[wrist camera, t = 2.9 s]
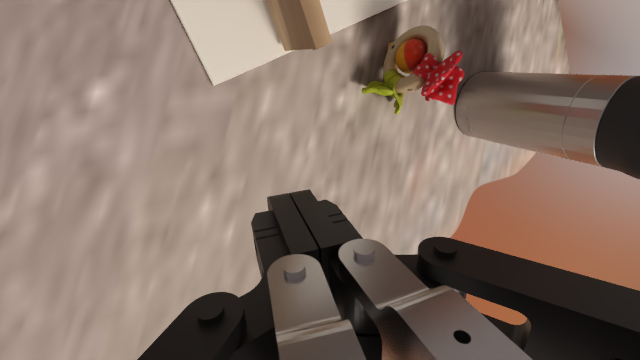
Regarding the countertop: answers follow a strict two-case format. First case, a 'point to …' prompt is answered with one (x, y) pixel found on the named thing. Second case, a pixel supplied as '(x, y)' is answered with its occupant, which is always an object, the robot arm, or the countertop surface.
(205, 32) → the card
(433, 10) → the countertop surface
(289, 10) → the fence panel
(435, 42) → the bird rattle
